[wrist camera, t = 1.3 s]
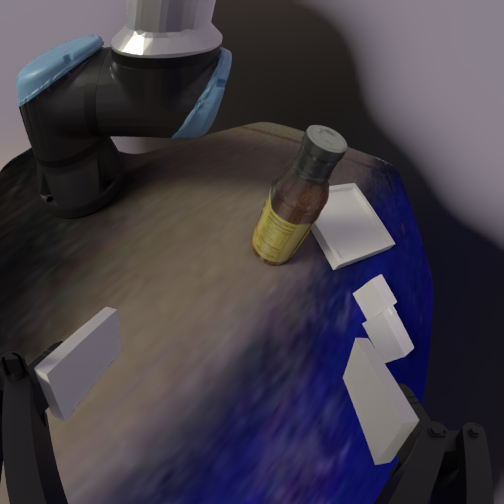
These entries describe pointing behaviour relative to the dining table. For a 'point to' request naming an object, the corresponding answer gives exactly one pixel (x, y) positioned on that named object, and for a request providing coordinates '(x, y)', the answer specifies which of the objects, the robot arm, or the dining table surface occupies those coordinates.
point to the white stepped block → (383, 320)
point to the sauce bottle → (297, 196)
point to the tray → (349, 227)
